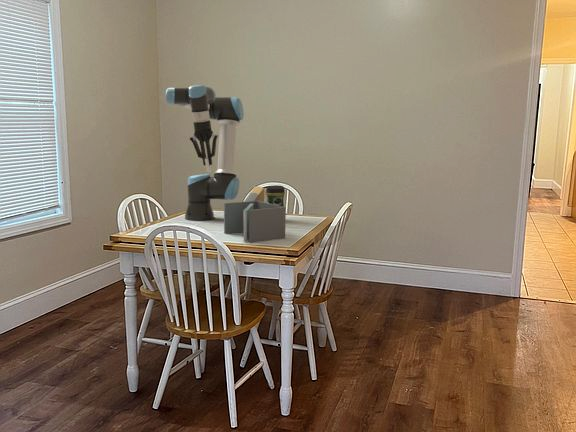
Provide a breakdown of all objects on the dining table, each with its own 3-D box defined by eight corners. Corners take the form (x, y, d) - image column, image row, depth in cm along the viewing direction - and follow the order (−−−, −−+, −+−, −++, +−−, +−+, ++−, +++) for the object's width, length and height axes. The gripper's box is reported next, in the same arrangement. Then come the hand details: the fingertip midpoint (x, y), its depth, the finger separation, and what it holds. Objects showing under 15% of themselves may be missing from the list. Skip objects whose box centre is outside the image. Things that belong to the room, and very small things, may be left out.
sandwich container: (233, 214, 307) (233, 188, 304) (254, 212, 317) (254, 186, 315) (242, 216, 301) (242, 189, 298) (264, 214, 311) (264, 187, 308)
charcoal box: (249, 242, 235) (250, 210, 232) (224, 233, 254) (223, 203, 252) (285, 238, 245) (285, 207, 242) (257, 229, 264) (257, 200, 262)
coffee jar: (281, 219, 294) (281, 184, 291) (286, 221, 287) (286, 186, 284) (264, 219, 291) (264, 184, 288) (268, 222, 284) (269, 186, 281)
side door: (243, 241, 235) (243, 210, 233) (250, 232, 256) (250, 203, 253) (246, 242, 235) (246, 210, 233) (253, 232, 256) (253, 203, 253)
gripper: (185, 123, 244) (193, 174, 251) (213, 120, 242) (221, 173, 249) (189, 120, 251) (197, 171, 258) (217, 118, 249) (224, 169, 257)
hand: (209, 171), depth 254 cm, fingers closed
